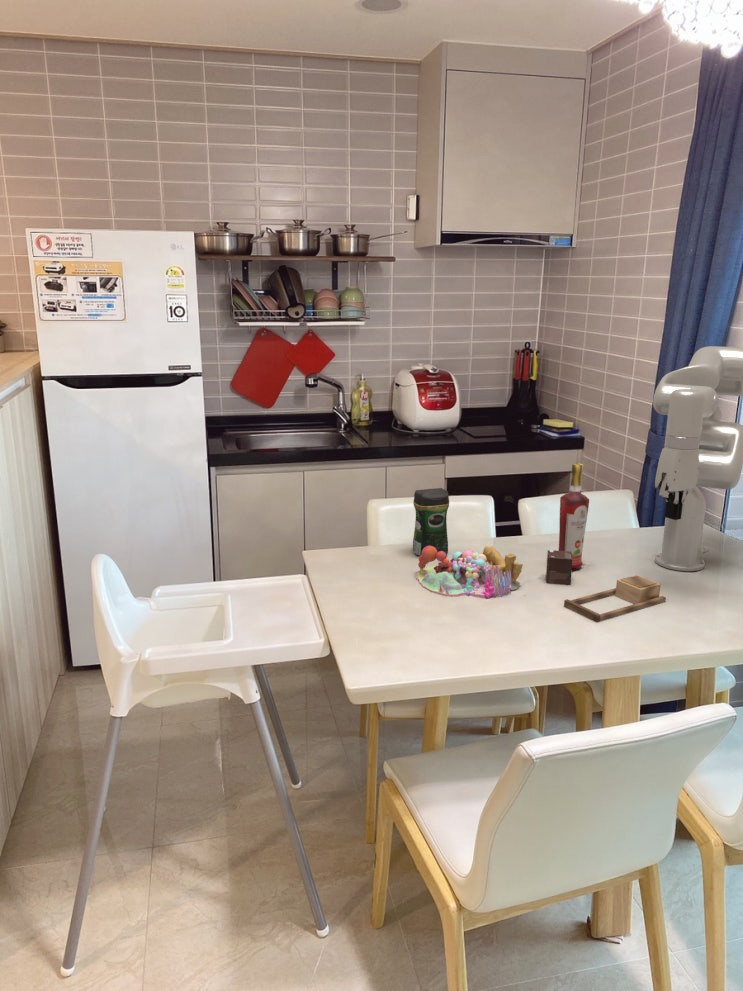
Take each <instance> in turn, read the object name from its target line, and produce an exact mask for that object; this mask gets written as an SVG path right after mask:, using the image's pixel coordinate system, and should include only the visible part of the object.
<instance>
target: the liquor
mask: <svg viewBox="0 0 743 991" xmlns="http://www.w3.org/2000/svg"><path fill="white" fill-rule="evenodd" d="M583 469H584V464H583V463H576V462H575V463H572V464H571V475H572V477H571V480H570V487H569V492H566V493H565V494H563V495H562V496H560V498H559V499H560V500H559V501H560V502H559V531H558V532H559V535H558V536H559V537H558V551H570V552H572V557H573V561H572V571H575V570H578V569H579V568H581V567H582V566H583V565H584V563H583V561H582V559H583V548H584V541H585V533H586V528H587V527H586V526H587V523H588V522H587V520H588V513H589V507H590V506H589V504H590V498H588V497H587V495H585V494H583V493H582V474H583V471H584V470H583Z"/></svg>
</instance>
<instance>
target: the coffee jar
mask: <svg viewBox="0 0 743 991" xmlns="http://www.w3.org/2000/svg"><path fill="white" fill-rule="evenodd" d="M413 496H414V497H413V507H414V510H415V523H414V532H413V540H412V552H413V554H414V555H415V556H417V557H420V555H422V550H423V549H424V547H426V546H433V547H435V548H436V550H437V553H438V552H439V551H443V552H445V553H446V555H447V554H448V553H449V538H448V526H447V518H448V517H447V515H448V514H447V513H448V509H449V508H450V495H449V492H448V490H446V489H444V488H442V487H439V488H435V487H434V488H425V489H417V490H415V491H414V494H413Z"/></svg>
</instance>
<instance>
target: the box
mask: <svg viewBox="0 0 743 991" xmlns="http://www.w3.org/2000/svg"><path fill="white" fill-rule="evenodd" d="M546 553H547V555H546V557H547V558H546V569H545V570H546V571H545V581H546V582H545V583H546V584H548V585H550V584H551V585H562V586H571V584H572V583H571V582H572V571H573V570H572V561H573V557H572V552H570V551H559V550H555V549H554V550H553V549H552V550H551V549H549V550H547V552H546Z"/></svg>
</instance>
